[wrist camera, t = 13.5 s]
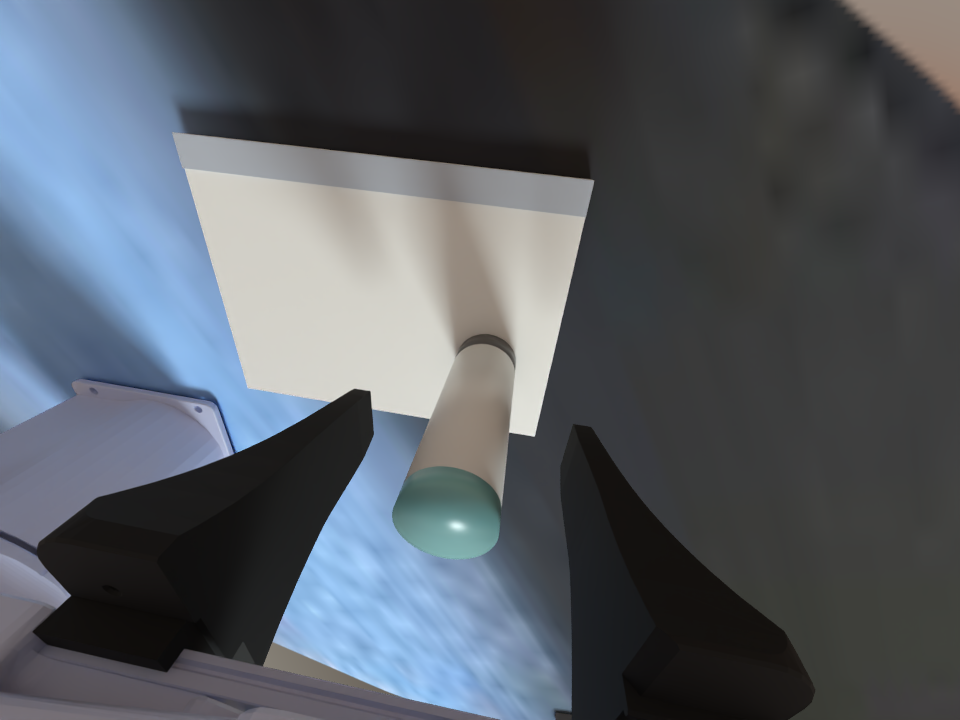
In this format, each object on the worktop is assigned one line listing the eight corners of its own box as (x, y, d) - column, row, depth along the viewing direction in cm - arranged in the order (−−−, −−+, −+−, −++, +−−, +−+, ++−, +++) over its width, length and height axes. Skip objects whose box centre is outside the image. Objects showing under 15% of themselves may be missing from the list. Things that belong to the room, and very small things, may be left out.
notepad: (257, 380, 20) (246, 389, 19) (191, 134, 14) (172, 132, 13) (534, 426, 19) (534, 437, 18) (590, 179, 13) (594, 180, 12)
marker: (455, 381, 17) (393, 548, 10) (458, 329, 16) (390, 479, 8) (511, 390, 17) (492, 567, 10) (520, 338, 16) (505, 500, 8)
